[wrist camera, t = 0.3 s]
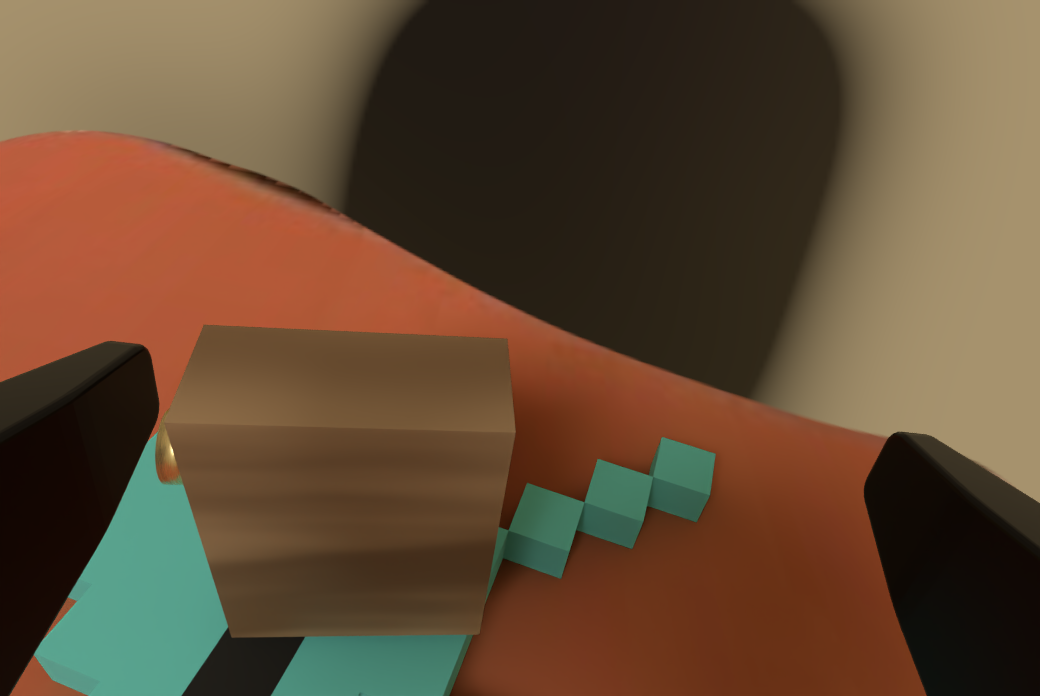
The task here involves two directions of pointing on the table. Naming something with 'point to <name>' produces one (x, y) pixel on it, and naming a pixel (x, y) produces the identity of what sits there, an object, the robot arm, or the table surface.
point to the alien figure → (306, 660)
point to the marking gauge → (343, 476)
